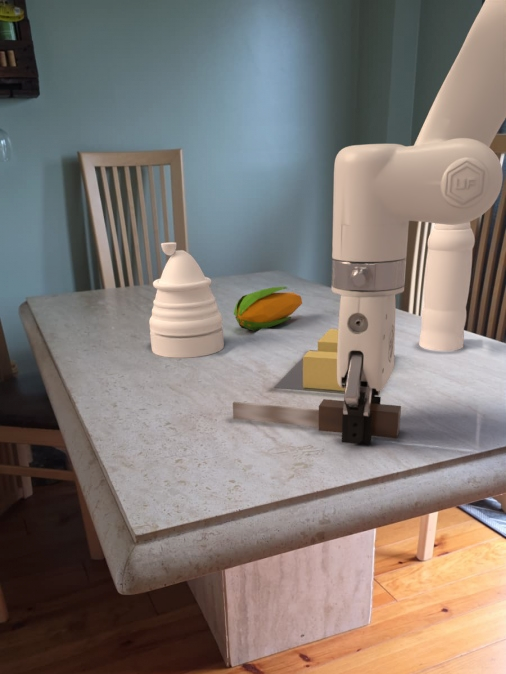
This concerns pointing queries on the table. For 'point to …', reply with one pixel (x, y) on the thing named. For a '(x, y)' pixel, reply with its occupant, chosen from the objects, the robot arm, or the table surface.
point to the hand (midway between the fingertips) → (360, 435)
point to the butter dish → (299, 380)
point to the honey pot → (184, 310)
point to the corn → (265, 308)
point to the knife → (321, 416)
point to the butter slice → (320, 370)
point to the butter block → (329, 341)
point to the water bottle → (446, 287)
